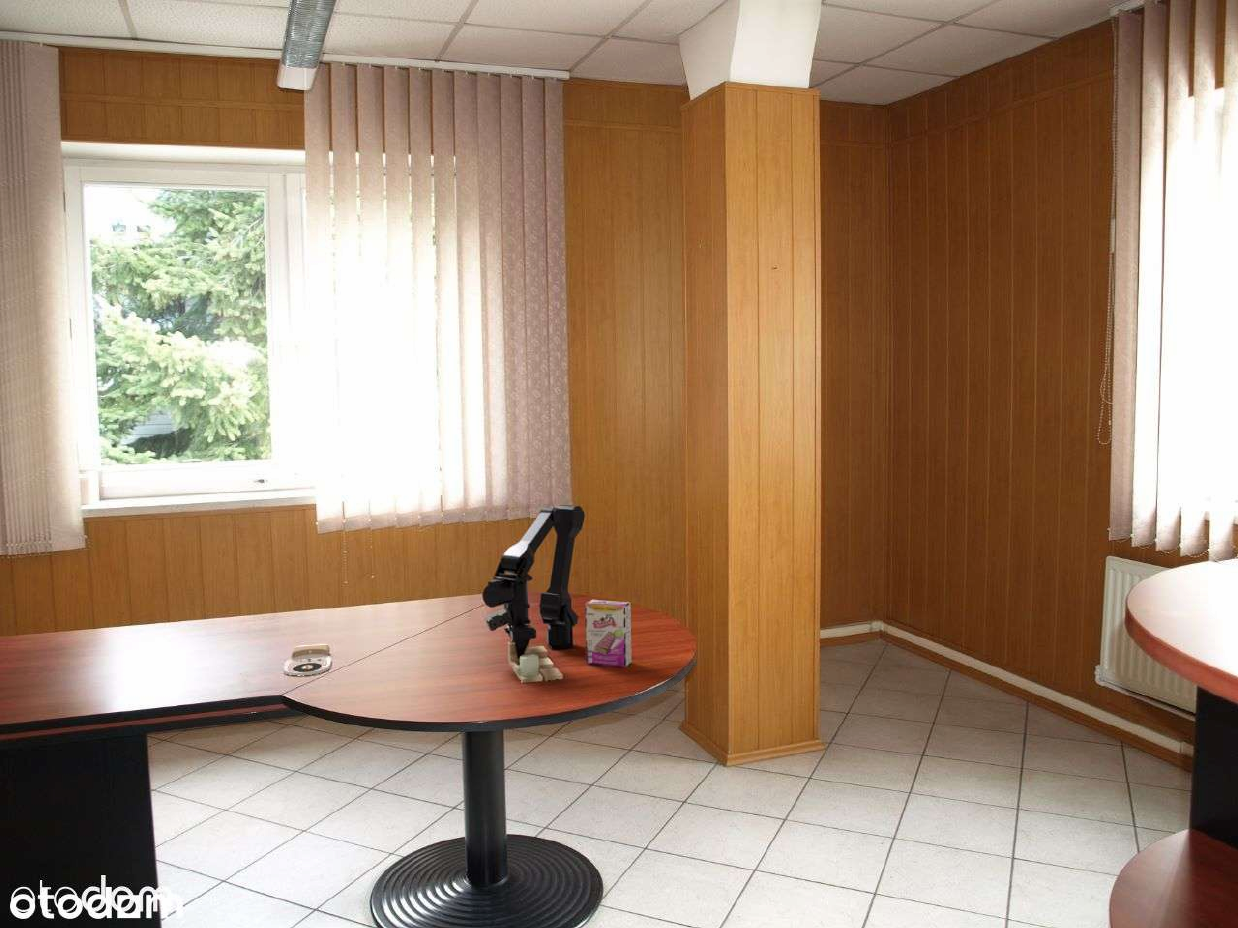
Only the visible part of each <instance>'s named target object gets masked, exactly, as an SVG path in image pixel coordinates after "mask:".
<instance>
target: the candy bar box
mask: <svg viewBox="0 0 1238 928" xmlns="http://www.w3.org/2000/svg"><path fill="white" fill-rule="evenodd" d="M631 604H632V603H631V602H628V601H617V600H615V601H613V600H602V599H601V600H600V599H591V600H589V601H588V602H587V601H586V602H585V604H584V606H585V652H586V653H585V654H586V655H585V658H586V664H587V665H594V666H604V667H605V666H606V667H615V668H616V667H617V668H627V667H628V666H629V665H630V664H631V663H632V659H633V658H632V620H631V619H632V618H631V617H632V616H631V614H632V612H631V611H632V610H631V609H632V607H631V606H632V605H631Z"/></svg>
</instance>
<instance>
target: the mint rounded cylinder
mask: <svg viewBox="0 0 1238 928" xmlns="http://www.w3.org/2000/svg"><path fill="white" fill-rule="evenodd" d="M519 665H520V673H521V676H523V677H534V676H537V675H539V673H540V669H539V661H538V655H534V654H527V655H522V656H520V664H519Z"/></svg>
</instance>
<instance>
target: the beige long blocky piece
mask: <svg viewBox="0 0 1238 928" xmlns="http://www.w3.org/2000/svg"><path fill="white" fill-rule="evenodd" d="M529 647H530V643H529V644H528V646H527V648H526V651H525V653H524V655H527V654H529ZM507 655H508V657H507V658H508V660H507V661H508V664H509V666H510V667H511V668H512V670H513V671H514V673H515V674H516V676H517V677H518V679H519V681H520V680H521V681H520V682H521V683H522V684H526V683H533V682H543V680H544V678H543V677H542V675H541V674H540V672H539V675H537V676H534V677H523V676H521V673H520V659H518V657H517V653H516V648H515V643H514V641H512V640H511V641H507Z"/></svg>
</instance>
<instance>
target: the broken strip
mask: <svg viewBox="0 0 1238 928" xmlns="http://www.w3.org/2000/svg"><path fill="white" fill-rule="evenodd" d="M548 653H549V652H548V650H547V648H545V646H544V645H537V646H529V654H534V655H538V661H539V673H540V674H541V675H542V677H543V680H544V681H545V682H548V680H550V681H557V680H556V679H559V680H563V679H564V678H563V677H564V676H563V674H562V673H561V671H560V670H559V669H558V668H557V667H554V666H555V665H554V663H553V660H551V659H550V658H549V657H548Z"/></svg>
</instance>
